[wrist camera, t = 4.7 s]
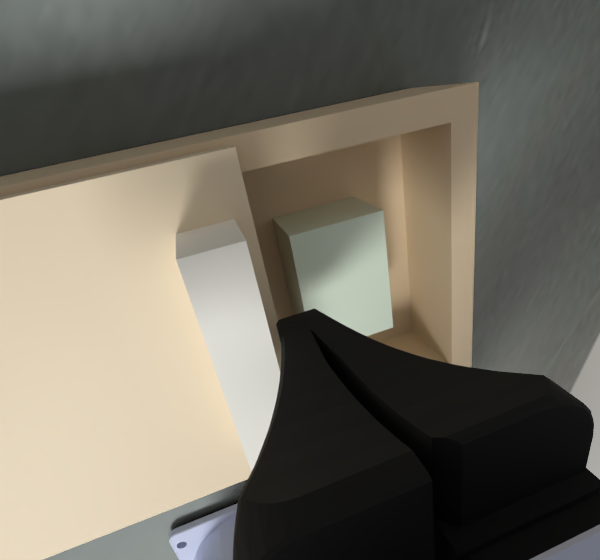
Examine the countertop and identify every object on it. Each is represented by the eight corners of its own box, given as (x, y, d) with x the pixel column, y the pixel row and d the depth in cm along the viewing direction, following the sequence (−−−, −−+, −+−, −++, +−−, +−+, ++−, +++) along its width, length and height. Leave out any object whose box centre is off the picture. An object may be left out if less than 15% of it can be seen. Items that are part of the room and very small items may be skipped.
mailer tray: (421, 332, 21) (471, 376, 17) (116, 438, 18) (102, 518, 14) (410, 88, 16) (478, 81, 12) (-27, 182, 13) (-104, 209, 9)
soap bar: (366, 300, 18) (393, 327, 16) (295, 323, 17) (313, 354, 15) (354, 196, 16) (383, 210, 14) (272, 218, 15) (289, 236, 13)
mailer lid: (305, 442, 16) (328, 500, 13) (-141, 614, 13) (-210, 725, 10) (232, 144, 10) (248, 155, 8) (-550, 320, 7) (-866, 412, 5)
